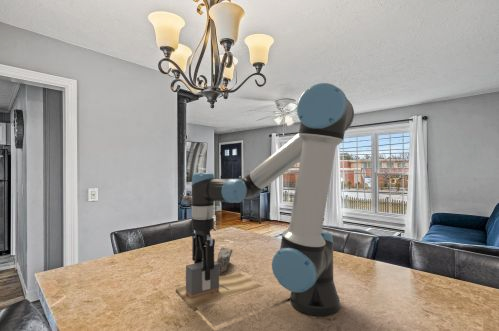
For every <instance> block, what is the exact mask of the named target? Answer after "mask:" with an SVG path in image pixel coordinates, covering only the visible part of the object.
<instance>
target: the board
mask: <svg viewBox="0 0 499 331" xmlns="http://www.w3.org/2000/svg"><path fill="white" fill-rule="evenodd" d="M260 287H263V285H261V284H259V283H258V282H256V281H255V280H253V279H251V278H249V277H248V276H246V275H245V274H242V273H241V272H239V271H237V272H233V273H229V274H226V275H223V276H219V290H218V291H214V292H211V293H208V294H204V295H201V296H197V297H194V298H191V297H190V296H189V295H188V294H187V293H186V285H182V286H179V287H176V288H175V292H176V293H177V294H178V295H179V296H180V298H182V299H183V301H184V302H185V303H186V304H187V305H188V306H189V307H190V308H191V310H193V311H198V308H197V307H201V306H203V305H206V304H210V303H213V302H216V301H220V300H223V299H225V298H228V297H231V296H235V295H238V294H242V293H244V292H247V291H250V290H254V289H257V288H260Z"/></svg>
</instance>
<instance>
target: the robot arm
mask: <svg viewBox="0 0 499 331" xmlns="http://www.w3.org/2000/svg"><path fill="white" fill-rule="evenodd" d="M296 113H297V117H298V119H299V121H300V123H299V130H298V133H297V134H295V135H294V136H293V137H292V138H291V139H289V140H288V141H287V142H285V144H283V145H282V146H281V147H279V148H278V149H277V150H276V151H275V152H274V153H272V154H271V155H270V156H268V157H267V158H266V159H265V160H264V161H262V162H261V163H260V164H259V165H257V166H256V167H255V168H254V169H253V170H252V171H250V172H249V173H248V174H247V175H245V176H244V177H242V178H216V177H215V175H214V173H213V172H195V173H193V174H192V178H191V217H192V219H191V230H192V231H194V232H192V233H191V240H192V243H191V244H192V246H191V247H192V253H191V255H192V256H191V260H192V262H193V264H195V263H200V262H203V269H201V270H202V290H203V291H204V290H207V289H210V270H212V269H214V261H215V245H216V241H215V239H214V238H212V236H211V230H214V228H215V225H214V224H215V219H214V218H213V217H214V216H215V213H214V212H215V211H214V210H215V202H222V203H229V204H233V203H234V204H235V203H237V204H239V203H242V202H243V200H247V199H248V200H249V199H250V200H251V199H254V198H257V197H259V195H261V193H262V190H264V189H265V188H266V187H267V186H269V185H270V184H272V183H273V182H274V181H275V180H277V179H278V178H279V177H281V176H282V175H283V174H285V173H286V172H287V171H289V170H290V169H291V168H292V167H293V168H294V166H296V165H297V164H298V163H299V164H298V171H297V177H296V178H297V179H296V184H295V188H294V189H295V190H294V196H293V203H292V208H291V215H290V221H289V227H288V228H287V229H285V230H284V231H283V232H282V235H281V241H280V245H279V246H280V248H279V249H278V250H277V251H276V252H275V254H274V255H273V257H272V262H271V270H272V274H273V276H274V278H276V281H277V282H278V284H279V285H280V286H281V287H283V288H284V289H285V290H287V291H289V292H290V297H289V298H290V305H291V306H292V307H293V308H294V309H295V310H297V311H298V312H300V313H303V314H306V315H311V316H317V317H324V316H325V317H326V316H331V315H334V314H336V313H337V312H338V311H339V310H340V308H341V306H340V297H339V295H338V291H337V289H336V285H335V282H334V239H333V234H332V233H331V232H329V231H327V230H326V231H325V230H323V225H324V219H325V214H326V213H325V212H326V206H327V202H328V201H327V200H328V195H329V188H330V184H331V177H332V173H333V172H332V171H333V165H334V160H335V154H336V148H337V146H339V145H340V144H341V143H342V142H344V138H345V133H346V132H347V131H348V129H349V128H350V127H351V126H352V124H353V122H354V118H355V110H354V106H353V104H352V103H351V102H350V100H349V99H348V98H347V96H346V93H345V92H344V91H343V90H342V89H341V88H339V87H338V86H336V85H334V84H332V83H329V82H322V83H321V82H320V83H316V84H313V85H311V86H310V87H309V88H307V89H306V90H305V91H303V92H302V93H301V95H300V97H299V99H298V101H297V104H296Z"/></svg>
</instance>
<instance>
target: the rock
mask: <svg viewBox="0 0 499 331" xmlns="http://www.w3.org/2000/svg"><path fill="white" fill-rule="evenodd" d="M232 254H233V249H231V248H225V247H221V248H220V250H219V252H218V254H217V258H216V260H215V262H217V263H219V275H220V274H222V273H224V272H227V269H228V266H229V265H230V260H231V256H232Z"/></svg>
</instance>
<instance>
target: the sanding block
mask: <svg viewBox="0 0 499 331" xmlns="http://www.w3.org/2000/svg"><path fill="white" fill-rule="evenodd" d="M201 269H203V262H200V263H191V264H187V265H185V286H186V293H187V294H188V295H189V296H190V297H191V298H194V297H197V296H201V295H204V294H208V293H211V292H214V291H218V290H219V277H220V274H219V263H217V262H216V260H214V269H212V270H210V289H207V290H204V291H203V290H202V270H201Z"/></svg>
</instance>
